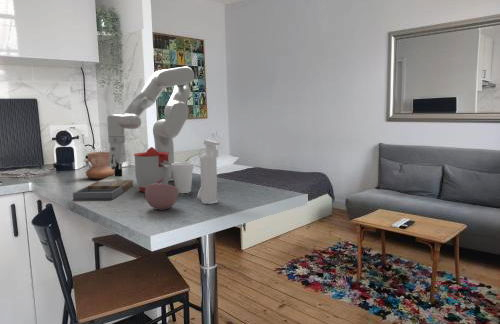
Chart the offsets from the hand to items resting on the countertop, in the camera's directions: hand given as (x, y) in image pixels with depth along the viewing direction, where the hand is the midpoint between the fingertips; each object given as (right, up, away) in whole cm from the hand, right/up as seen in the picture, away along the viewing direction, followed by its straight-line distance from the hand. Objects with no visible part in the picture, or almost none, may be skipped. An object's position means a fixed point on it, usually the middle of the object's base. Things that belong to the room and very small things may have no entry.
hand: (118, 177), depth 185 cm
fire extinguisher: (+48, -9, -36) cm, 61 cm away
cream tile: (0, -3, -14) cm, 14 cm away
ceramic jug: (-16, -2, +20) cm, 25 cm away
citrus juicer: (+21, -6, -13) cm, 25 cm away
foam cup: (+35, -6, -18) cm, 40 cm away
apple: (+32, -10, -46) cm, 57 cm away
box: (0, -7, -24) cm, 25 cm away
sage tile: (0, -2, -7) cm, 7 cm away
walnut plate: (0, -5, -10) cm, 11 cm away
